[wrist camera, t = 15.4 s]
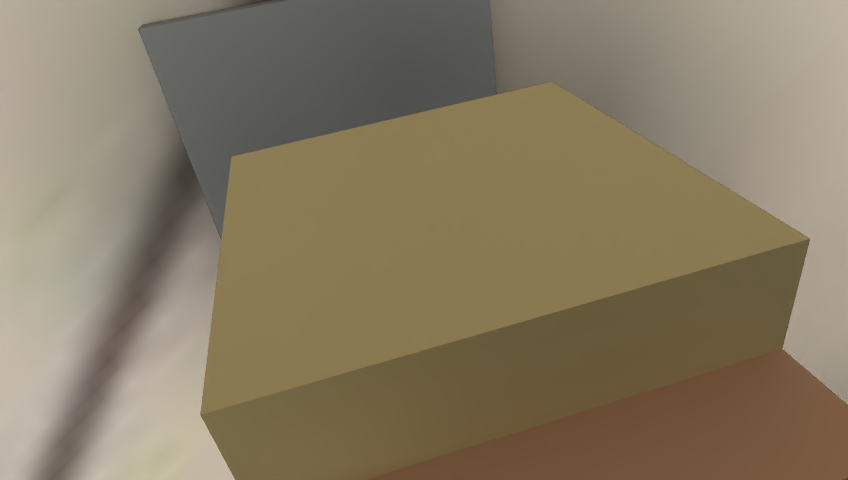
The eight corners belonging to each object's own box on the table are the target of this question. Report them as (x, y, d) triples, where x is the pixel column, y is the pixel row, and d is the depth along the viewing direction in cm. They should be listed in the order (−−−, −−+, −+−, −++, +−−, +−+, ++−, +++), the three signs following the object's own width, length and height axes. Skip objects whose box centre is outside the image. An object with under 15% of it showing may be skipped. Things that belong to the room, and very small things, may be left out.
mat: (479, -40, 16) (486, -38, 15) (501, 236, 20) (507, 244, 20) (142, 24, 14) (138, 29, 14) (250, 301, 19) (249, 311, 19)
